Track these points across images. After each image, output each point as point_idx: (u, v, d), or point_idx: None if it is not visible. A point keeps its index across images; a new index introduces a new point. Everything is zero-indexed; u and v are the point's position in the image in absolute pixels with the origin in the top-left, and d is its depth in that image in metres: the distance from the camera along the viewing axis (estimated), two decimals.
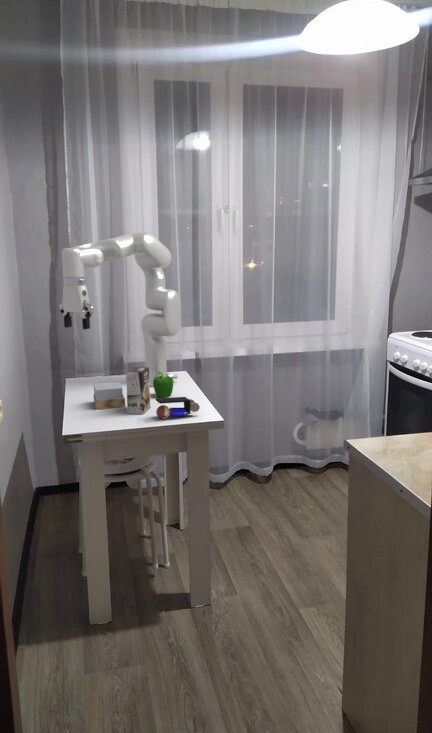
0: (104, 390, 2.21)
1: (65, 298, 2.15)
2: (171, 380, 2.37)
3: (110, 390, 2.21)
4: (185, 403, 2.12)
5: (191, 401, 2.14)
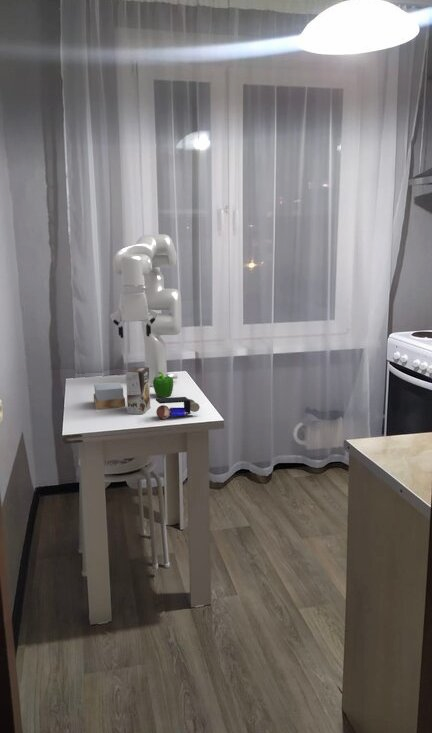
0: (105, 390, 2.21)
1: (127, 307, 2.08)
2: (171, 380, 2.37)
3: (111, 390, 2.22)
4: (185, 403, 2.12)
5: (191, 401, 2.14)
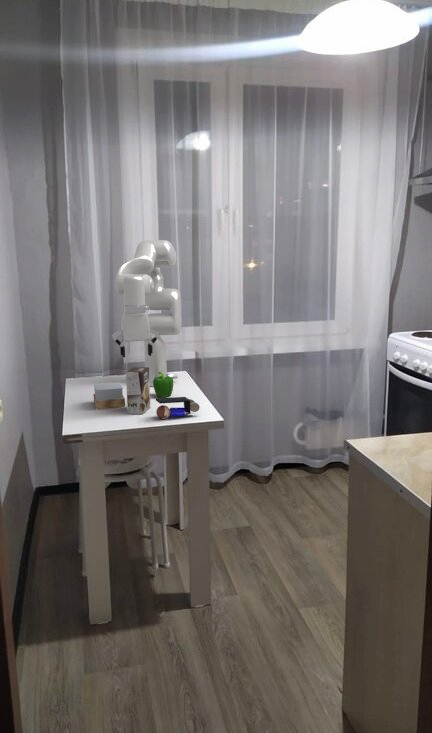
0: (104, 390, 2.21)
1: (129, 327, 2.09)
2: (171, 380, 2.37)
3: (110, 390, 2.22)
4: (185, 403, 2.12)
5: (191, 401, 2.14)
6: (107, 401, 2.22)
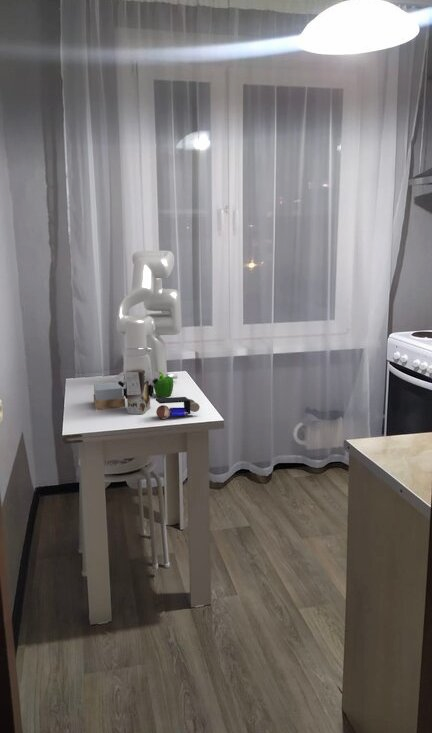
0: (104, 390, 2.21)
1: (131, 369, 2.13)
2: (171, 380, 2.37)
3: (110, 390, 2.22)
4: (185, 403, 2.12)
5: (191, 401, 2.14)
6: (107, 401, 2.21)
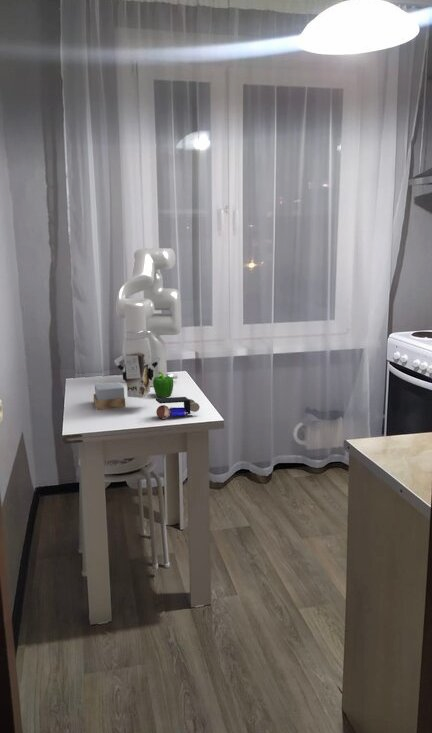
0: (106, 390, 2.21)
1: (130, 352, 2.12)
2: (171, 380, 2.37)
3: (112, 390, 2.22)
4: (185, 403, 2.12)
5: (191, 401, 2.14)
6: (107, 401, 2.21)
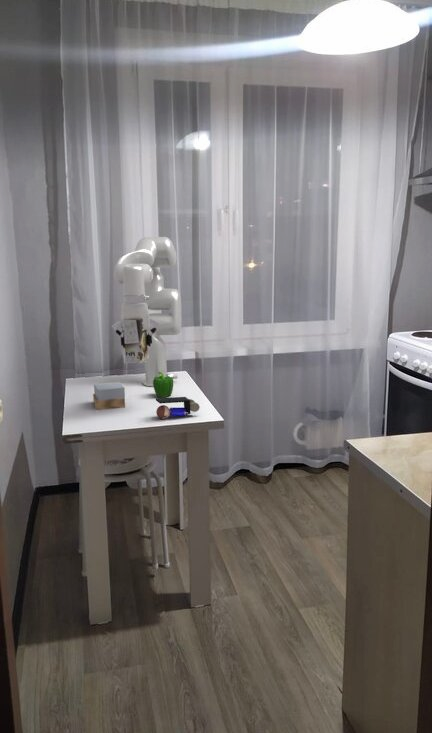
0: (106, 390, 2.21)
1: (128, 317, 2.09)
2: (171, 380, 2.37)
3: (112, 390, 2.22)
4: (185, 403, 2.12)
5: (191, 401, 2.14)
6: (107, 401, 2.21)
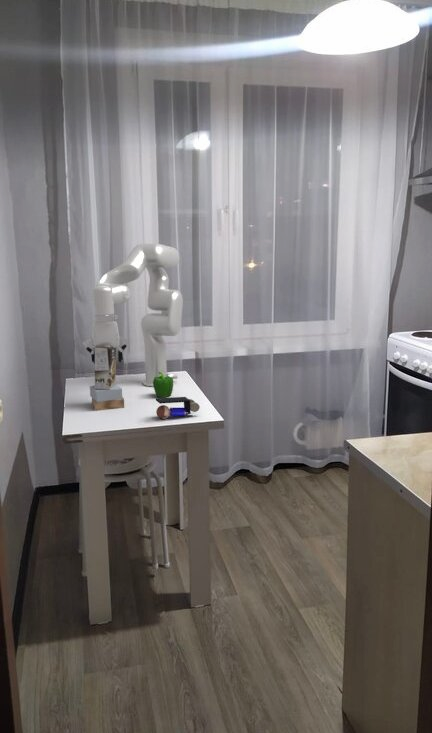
0: (104, 391, 2.20)
1: (99, 335, 2.19)
2: (171, 380, 2.37)
3: (110, 391, 2.21)
4: (185, 403, 2.12)
5: (191, 401, 2.14)
6: (106, 402, 2.21)
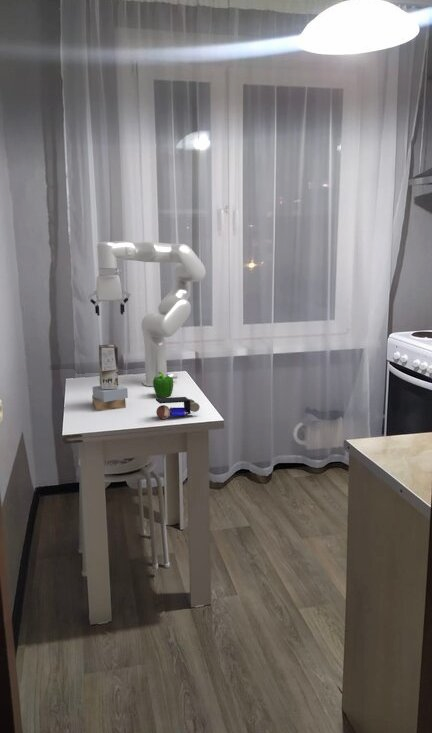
0: (111, 391, 2.20)
1: (102, 288, 2.33)
2: (171, 380, 2.37)
3: (116, 391, 2.21)
4: (185, 403, 2.12)
5: (191, 401, 2.14)
6: (108, 402, 2.20)
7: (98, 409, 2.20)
